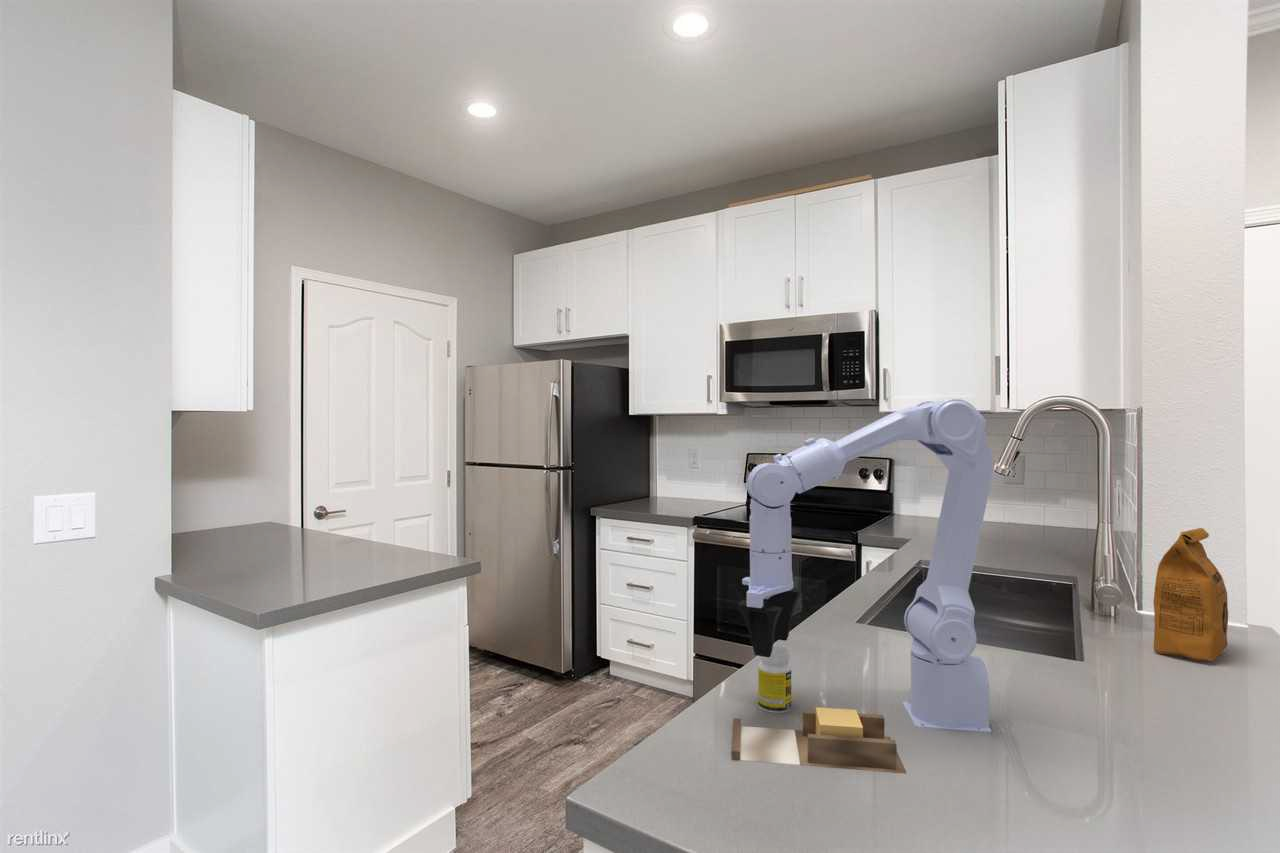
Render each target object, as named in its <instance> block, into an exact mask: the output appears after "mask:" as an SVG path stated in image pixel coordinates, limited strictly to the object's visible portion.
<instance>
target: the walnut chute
mask: <svg viewBox="0 0 1280 853" xmlns="http://www.w3.org/2000/svg"><path fill="white" fill-rule="evenodd" d="M857 713H858V712H857ZM858 716H859V718H860V721H861V724H862V726H863V738H861V737H847V736H833V735H819V734H816V709H815V710H814V709H813V710H812V709H802V730H800V729H789V728H787V729H785V728H770V727H755V726H746V725H745V726H743V725H742V719H741V718H736V717H733V720H732V723H733V724H732V736H731V737H732V740H731V742H732V743H731V760H732V761H743V762H755V763H758V762H759V763H770V764H771V763H772V764H783V765H794V766H795V765H796V766H808V767H818V768H819V767H820V768H831V769H832V768H833V769H845V770H859V771H868V772H869V771H870V772H882V773H898V774H908V773H907V770H906V768H905V765H904V763H903V762H902V759H901V757H900V756H899V753H898V751H897V749H898V748H897V742H896V740H895V739H892V737H891V736H887V735H885V716H884V714H876V713H875V714H874V713H862V712H861V713H858Z"/></svg>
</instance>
